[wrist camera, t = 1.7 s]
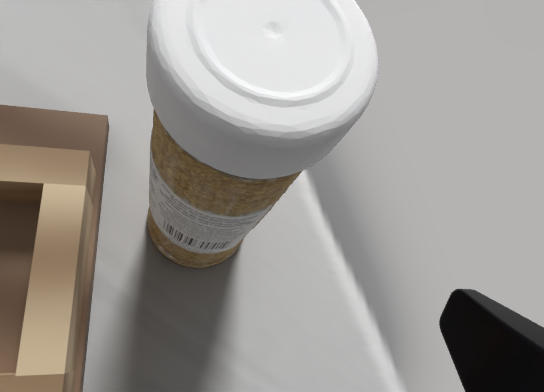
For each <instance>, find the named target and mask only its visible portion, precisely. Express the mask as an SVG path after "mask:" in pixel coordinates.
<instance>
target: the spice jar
mask: <svg viewBox="0 0 544 392" xmlns="http://www.w3.org/2000/svg"><path fill="white" fill-rule="evenodd" d="M377 73H378V55H377V49H376V43H375V40H374V37H373V34H372V31H371V28H370V26H369V24H368V22H367V19H366V18H365V16H364V14H363V12H362V10H361V9H360V8H359V6H358V5H357V3H356V2H355V0H153V2H152V4H151V9H150V14H149V20H148V30H147V58H146V77H147V87H148V91H149V95H150V99H151V102H152V105H153V107H154V116H153V128H152V134H151V143H150V178H149V204H150V206H149V210H148V217H147V222H148V227H149V233H150V236H151V238H152V241H153V242H154V244H155V246H156V247H157V249H158V250H159V251H160V252H161V253H162V254H163V255H164V256H165V257H167V258H169V259H170V260H171V261H173V262H175V263H178V264H180V265H182V266H185V267H194V268H205V267H208V266H212V265H215V264H219V263H221V262H222V261H224V260H226V259H227V258H229V257H230V256H231V255H232V254H233V253H234V252H235V251H236V250H237V248H238V246H239V245H240V243H241V242H242V240H243V238H244V237H245V236H246V235H247V234H248V233H249V231H250V230H251V229H253V228H254V227H255V226H256V225H257V224H258V223H259V222H260V221H261V220H262V219H263V218H264V216H265V215H266V214H267V213H268V212H269V211H270V210H271V209H272V207H273V206H274V204H275V203H276V202H277V201H278V200H279V199H280V197H281V196H282V195H283V194H284V193H285V192H286V190H287V189H288V187H289V186H290V185H291V184H292V183H293V181H294V180H295V179H296V178H297V177H298V176H299V174H300V173H301V172H302V171H303V170H305V169H307V168H309V167H312V166H313V165H314V164H316V163H317V162H319V161H320V160H321V159H323V158H324V157H325V156H326V155H327V154H328V153H329V152H330V151H331V150H332V149H333V148H334V147H335V146H336V145H337V143H338V142H339V141H340V140H341V139H342V138H343V137H344V135H345V134H346V133H347V132H348V131H349V129H350V128H351V127H352V126H353V125H354V124H355V122H356V121H357V120H358V119H359V118H360V116H361V115H362V114H363V112H364V110H365V109H366V107H367V105H368V103H369V101H370V99H371V97H372V95H373V92H374V89H375V85H376V80H377Z"/></svg>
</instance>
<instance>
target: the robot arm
mask: <svg viewBox="0 0 544 392" xmlns="http://www.w3.org/2000/svg"><path fill="white" fill-rule="evenodd" d="M439 322H440V324H439V325H440V329H441V333H442V335H443V338H444V340H445V343H446V345H447V347H448V350H449V352H450V355H451V358H452V360H453V363H454V365H455V367H456V370H457V372H458V375H459V377H460V380H461V382H462V385H463V387H464V390H465V392H544V328H543V327H541V326H540V325H538V324H536V323H534V322H532V321H531V320H529V319H527V318H525V317H523V316H521V315H520V314H518V313H516V312H514V311H512V310H510V309H509V308H507V307H505V306H503V305H501V304H499V303H498V302H496V301H494V300H492V299H490V298H488V297H486V296H485V295H483V294H481V293H479V292H477V291H475V290H471V289H456V290H454V291H453V292H452V293H451V295H450V297H449V299H448V301H447V304H446V306H445V308H444V310H443V312H442V315H441V317H440V321H439Z"/></svg>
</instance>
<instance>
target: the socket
mask: <svg viewBox="0 0 544 392" xmlns="http://www.w3.org/2000/svg"><path fill="white" fill-rule="evenodd" d="M108 132H109V122H108V116H107V115H97V114H87V113H77V112H67V111H57V110H47V109H37V108H27V107H17V106H8V105H0V392H82V390H83V381H84V371H85V361H86V351H87V341H88V331H89V321H90V311H91V301H92V291H93V281H94V271H95V261H96V251H97V241H98V231H99V221H100V211H101V202H102V192H103V182H104V172H105V162H106V152H107V142H108Z"/></svg>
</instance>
